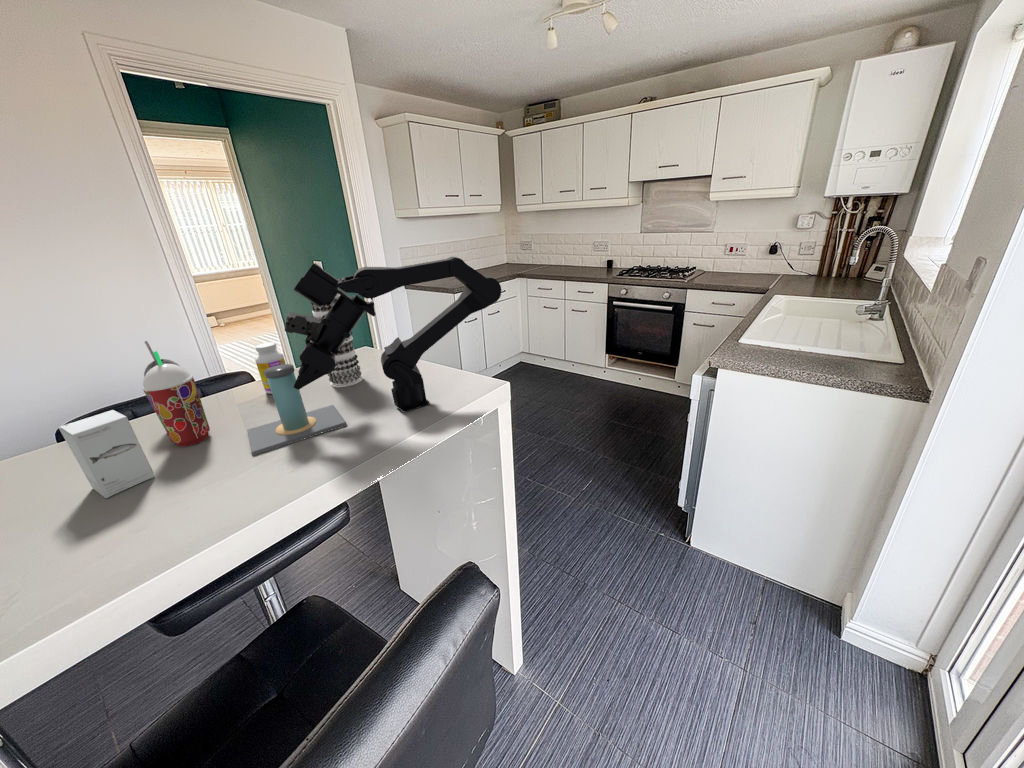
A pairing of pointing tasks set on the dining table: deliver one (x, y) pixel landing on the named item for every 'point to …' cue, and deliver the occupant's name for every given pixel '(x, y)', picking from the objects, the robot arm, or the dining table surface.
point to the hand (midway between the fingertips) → (298, 380)
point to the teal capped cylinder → (287, 396)
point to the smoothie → (176, 403)
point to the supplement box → (108, 452)
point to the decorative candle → (341, 355)
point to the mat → (277, 436)
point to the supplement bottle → (268, 361)
